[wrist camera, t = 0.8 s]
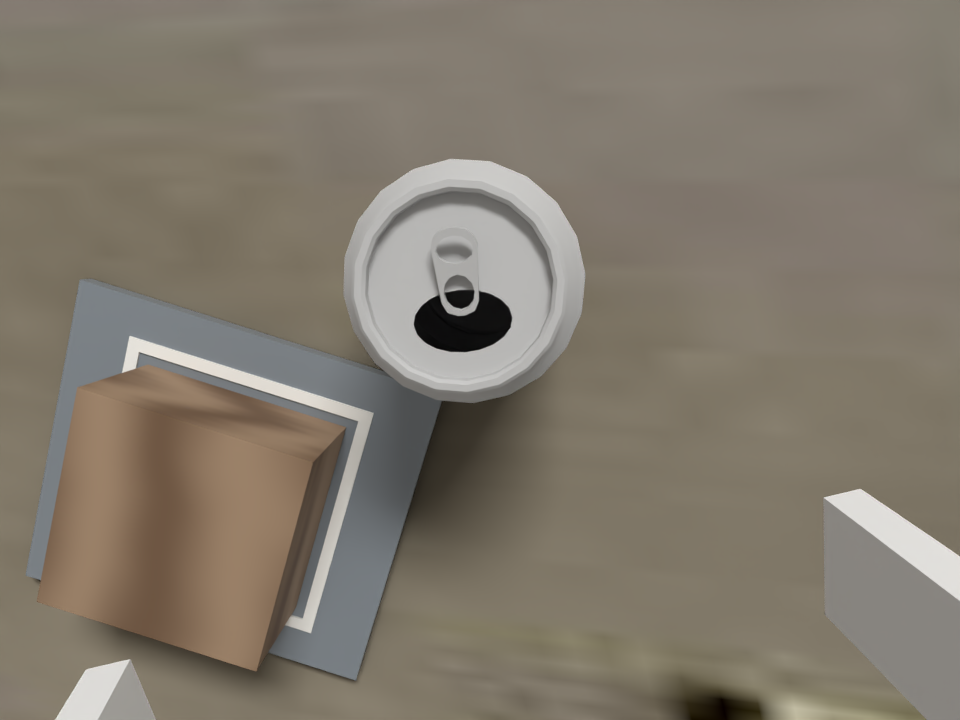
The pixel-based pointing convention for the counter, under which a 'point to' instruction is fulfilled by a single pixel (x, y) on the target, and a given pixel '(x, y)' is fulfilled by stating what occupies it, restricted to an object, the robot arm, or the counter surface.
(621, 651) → the counter surface
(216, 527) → the walnut block
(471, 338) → the can
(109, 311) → the grey flat plate
